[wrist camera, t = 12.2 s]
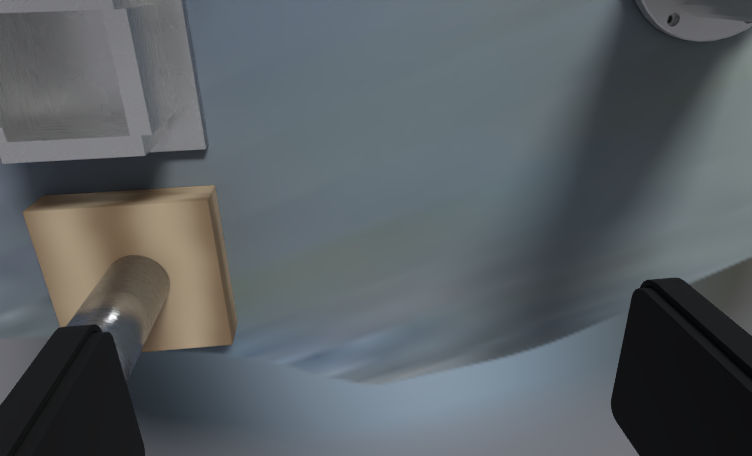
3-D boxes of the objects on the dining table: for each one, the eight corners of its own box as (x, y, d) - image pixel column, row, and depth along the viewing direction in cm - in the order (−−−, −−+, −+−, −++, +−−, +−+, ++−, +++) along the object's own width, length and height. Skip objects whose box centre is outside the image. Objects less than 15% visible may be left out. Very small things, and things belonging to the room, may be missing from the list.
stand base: (177, -46, 33) (145, -51, 27) (208, 145, 38) (187, 178, 32) (-30, -40, 32) (-115, -45, 26) (30, 154, 37) (-28, 191, 31)
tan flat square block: (215, 185, 39) (207, 200, 37) (237, 322, 44) (232, 344, 42) (40, 195, 38) (19, 212, 36) (83, 334, 43) (67, 358, 41)
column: (167, 248, 38) (88, 390, 25) (180, 309, 40) (113, 470, 27) (93, 253, 37) (-28, 401, 24) (110, 314, 40) (7, 481, 26)
